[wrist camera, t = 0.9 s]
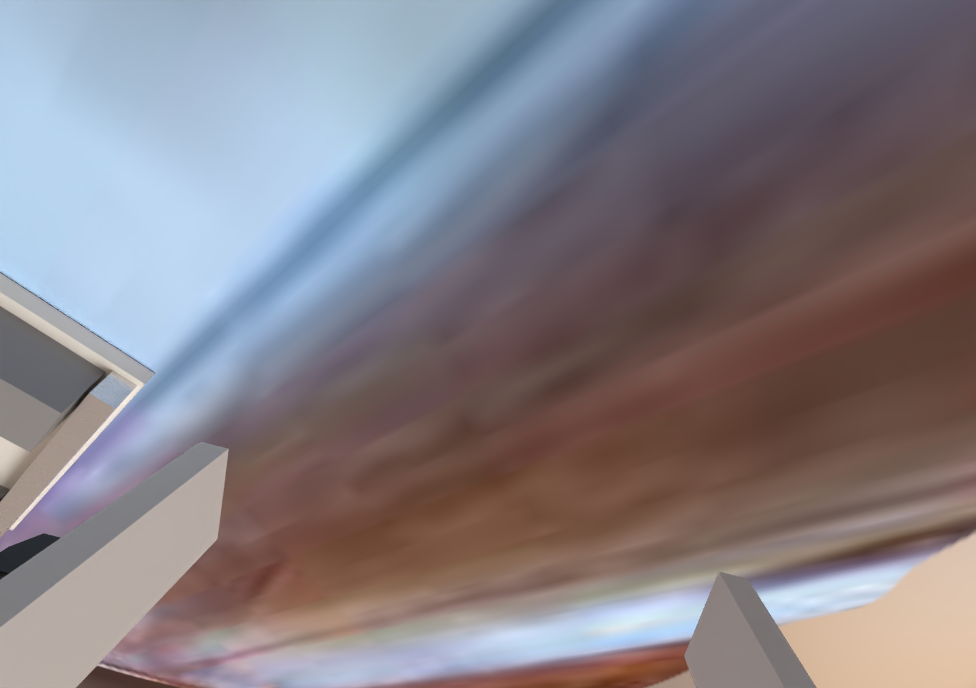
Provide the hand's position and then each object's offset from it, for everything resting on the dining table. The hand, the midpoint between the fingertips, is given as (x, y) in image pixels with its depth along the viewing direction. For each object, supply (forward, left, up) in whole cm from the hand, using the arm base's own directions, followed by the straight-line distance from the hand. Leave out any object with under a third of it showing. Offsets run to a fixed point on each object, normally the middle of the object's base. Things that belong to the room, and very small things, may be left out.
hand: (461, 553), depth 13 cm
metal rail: (+17, -30, -14) cm, 37 cm away
